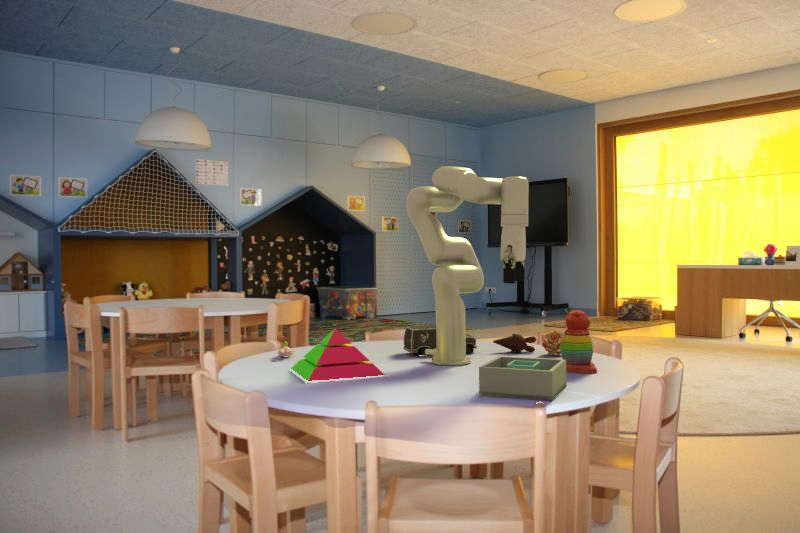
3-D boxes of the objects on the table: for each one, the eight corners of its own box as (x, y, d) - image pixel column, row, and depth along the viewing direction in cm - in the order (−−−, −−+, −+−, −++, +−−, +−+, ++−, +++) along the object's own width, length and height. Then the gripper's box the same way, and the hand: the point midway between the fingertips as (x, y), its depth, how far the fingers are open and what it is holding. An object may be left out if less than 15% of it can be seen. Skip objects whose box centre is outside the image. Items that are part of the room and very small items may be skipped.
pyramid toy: (362, 366, 210) (362, 322, 209) (390, 379, 187) (389, 330, 186) (286, 372, 201) (285, 326, 200) (304, 387, 177) (303, 335, 177)
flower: (536, 347, 228) (536, 330, 223) (561, 341, 228) (562, 324, 224) (547, 366, 220) (547, 349, 215) (573, 360, 221) (573, 343, 216)
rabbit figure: (278, 358, 233) (275, 358, 219) (277, 341, 234) (275, 340, 219) (295, 357, 234) (294, 357, 219) (295, 341, 235) (293, 339, 220)
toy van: (402, 353, 232) (401, 325, 232) (467, 349, 239) (466, 322, 238) (410, 357, 222) (410, 328, 222) (478, 353, 228) (477, 325, 228)
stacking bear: (597, 373, 186) (597, 311, 186) (561, 373, 188) (560, 311, 188) (594, 367, 197) (593, 308, 196) (560, 366, 199) (559, 308, 199)
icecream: (495, 336, 225) (538, 339, 224) (493, 328, 232) (535, 331, 231) (493, 354, 227) (536, 358, 226) (491, 346, 234) (533, 349, 233)
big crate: (479, 395, 160) (478, 367, 160) (499, 381, 177) (498, 356, 177) (552, 401, 153) (552, 371, 153) (566, 386, 169) (566, 359, 169)
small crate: (506, 388, 163) (506, 364, 163) (513, 383, 170) (513, 360, 170) (534, 390, 160) (534, 366, 160) (540, 385, 167) (540, 361, 167)
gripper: (510, 222, 191) (509, 279, 192) (492, 220, 176) (491, 283, 177) (535, 221, 188) (534, 280, 189) (519, 220, 172) (518, 284, 173)
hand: (514, 282), depth 183 cm, fingers open, 9 cm apart
